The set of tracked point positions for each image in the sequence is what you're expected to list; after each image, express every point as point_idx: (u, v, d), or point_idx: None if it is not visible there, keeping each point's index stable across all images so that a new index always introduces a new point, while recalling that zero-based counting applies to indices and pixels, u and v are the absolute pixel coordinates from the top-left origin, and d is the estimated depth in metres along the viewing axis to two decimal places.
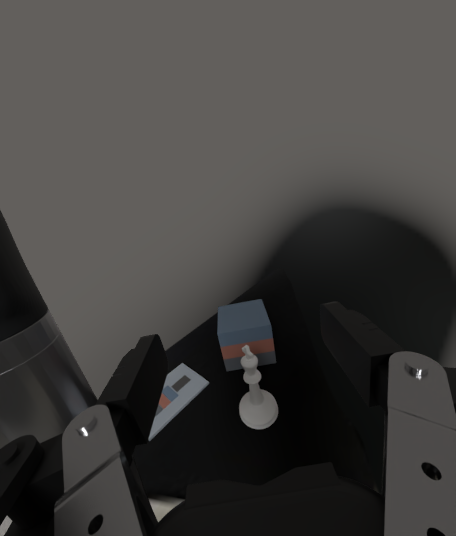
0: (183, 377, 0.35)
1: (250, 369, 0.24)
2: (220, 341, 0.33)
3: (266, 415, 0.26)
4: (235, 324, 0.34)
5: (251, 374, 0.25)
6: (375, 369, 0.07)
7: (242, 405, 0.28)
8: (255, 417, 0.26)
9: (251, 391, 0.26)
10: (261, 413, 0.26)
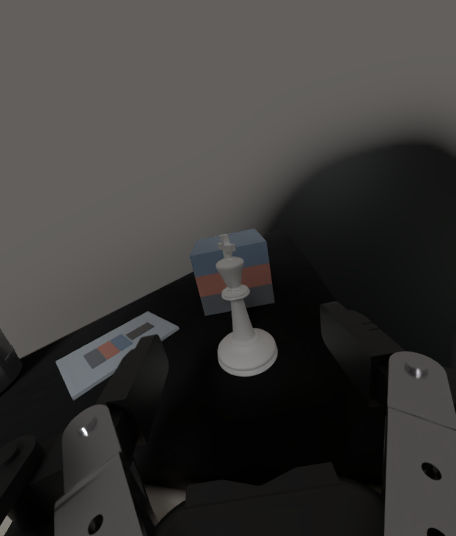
0: (145, 325, 0.25)
1: (230, 273, 0.15)
2: (194, 268, 0.23)
3: (258, 355, 0.16)
4: (215, 247, 0.24)
5: (233, 284, 0.15)
6: (375, 369, 0.07)
7: (222, 346, 0.18)
8: (241, 358, 0.16)
9: (234, 318, 0.16)
10: (250, 353, 0.16)
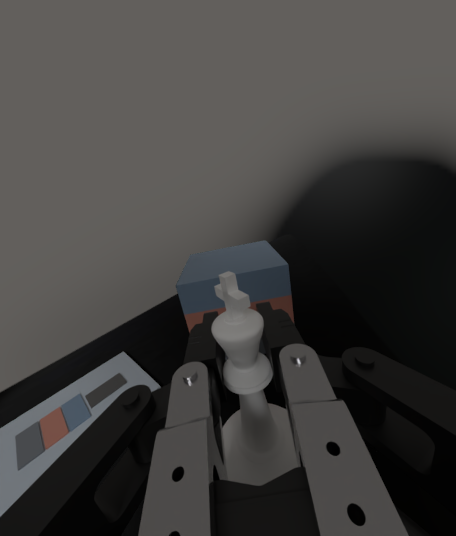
0: (115, 377, 0.18)
1: (240, 347, 0.08)
2: (183, 302, 0.16)
3: None
4: (214, 270, 0.17)
5: (243, 364, 0.08)
6: (275, 359, 0.08)
7: None
8: None
9: (245, 414, 0.09)
10: (273, 476, 0.09)
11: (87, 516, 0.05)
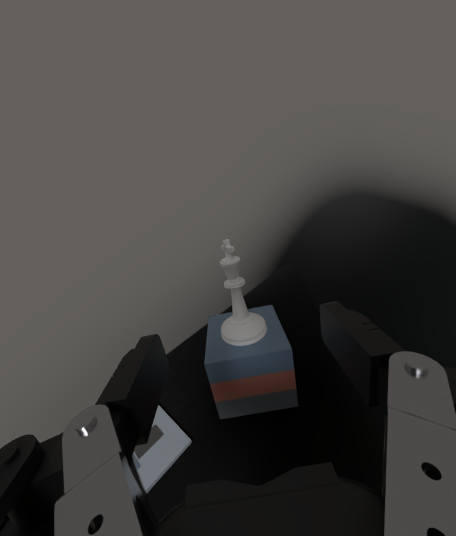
0: (153, 429, 0.22)
1: (230, 268, 0.20)
2: (209, 375, 0.20)
3: (251, 330, 0.21)
4: (233, 347, 0.21)
5: (232, 276, 0.21)
6: (375, 369, 0.07)
7: (224, 325, 0.23)
8: (238, 333, 0.21)
9: (233, 302, 0.22)
10: (246, 328, 0.22)
11: None
